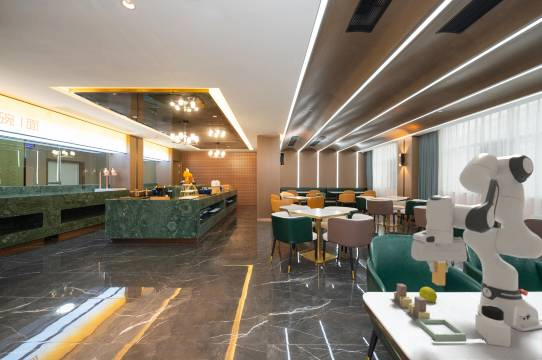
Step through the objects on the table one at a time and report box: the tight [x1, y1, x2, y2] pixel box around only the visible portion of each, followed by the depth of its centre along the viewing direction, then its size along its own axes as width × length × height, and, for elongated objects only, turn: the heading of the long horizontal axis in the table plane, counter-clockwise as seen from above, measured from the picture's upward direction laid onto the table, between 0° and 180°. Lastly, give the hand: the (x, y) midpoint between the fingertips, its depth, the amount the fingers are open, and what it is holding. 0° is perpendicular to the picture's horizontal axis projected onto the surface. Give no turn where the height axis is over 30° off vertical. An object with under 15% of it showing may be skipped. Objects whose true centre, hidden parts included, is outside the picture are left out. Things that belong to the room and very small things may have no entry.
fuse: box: [431, 261, 446, 286], centre depth 92 cm, size 3×3×10 cm
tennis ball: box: [418, 286, 438, 303], centre depth 115 cm, size 7×7×7 cm
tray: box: [415, 318, 467, 343], centre depth 90 cm, size 12×10×3 cm
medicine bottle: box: [474, 305, 512, 348], centre depth 87 cm, size 7×7×12 cm
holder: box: [389, 283, 432, 323], centre depth 105 cm, size 19×8×9 cm, turn 3°
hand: (438, 271), depth 92 cm, fingers closed on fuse, 3 cm apart
